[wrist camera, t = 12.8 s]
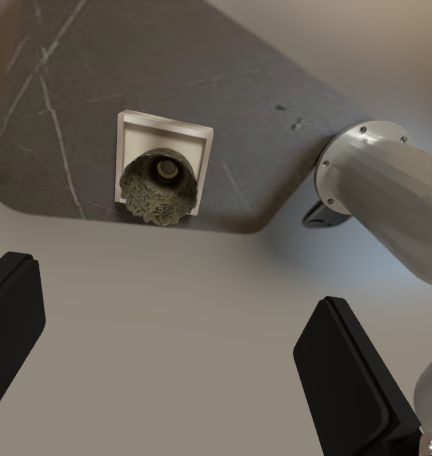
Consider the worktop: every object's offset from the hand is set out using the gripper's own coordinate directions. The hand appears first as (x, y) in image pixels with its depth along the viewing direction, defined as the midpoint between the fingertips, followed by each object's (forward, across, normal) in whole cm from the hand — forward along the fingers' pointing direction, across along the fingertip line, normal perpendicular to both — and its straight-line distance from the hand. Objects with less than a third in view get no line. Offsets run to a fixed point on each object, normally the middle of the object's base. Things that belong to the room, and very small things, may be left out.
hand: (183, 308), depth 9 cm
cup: (+26, +3, +4) cm, 26 cm away
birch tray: (+28, +4, +4) cm, 29 cm away
